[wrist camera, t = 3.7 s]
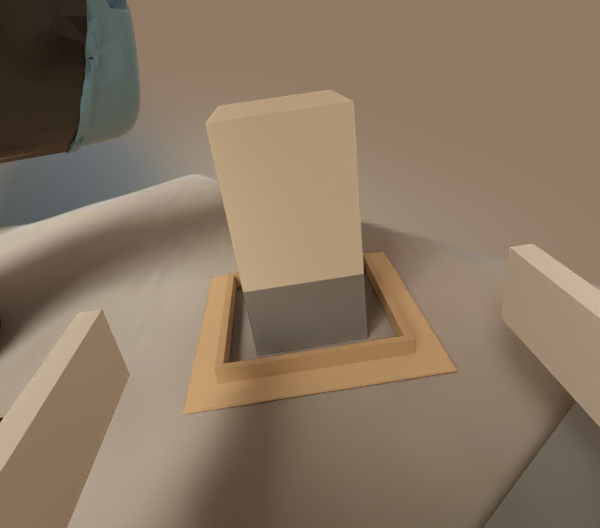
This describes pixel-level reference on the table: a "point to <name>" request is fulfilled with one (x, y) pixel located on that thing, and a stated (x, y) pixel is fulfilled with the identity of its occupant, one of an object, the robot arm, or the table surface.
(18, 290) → the table surface
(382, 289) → the tan square frame
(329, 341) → the beige and grey block
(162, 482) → the table surface
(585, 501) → the slate board
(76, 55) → the robot arm
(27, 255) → the table surface
